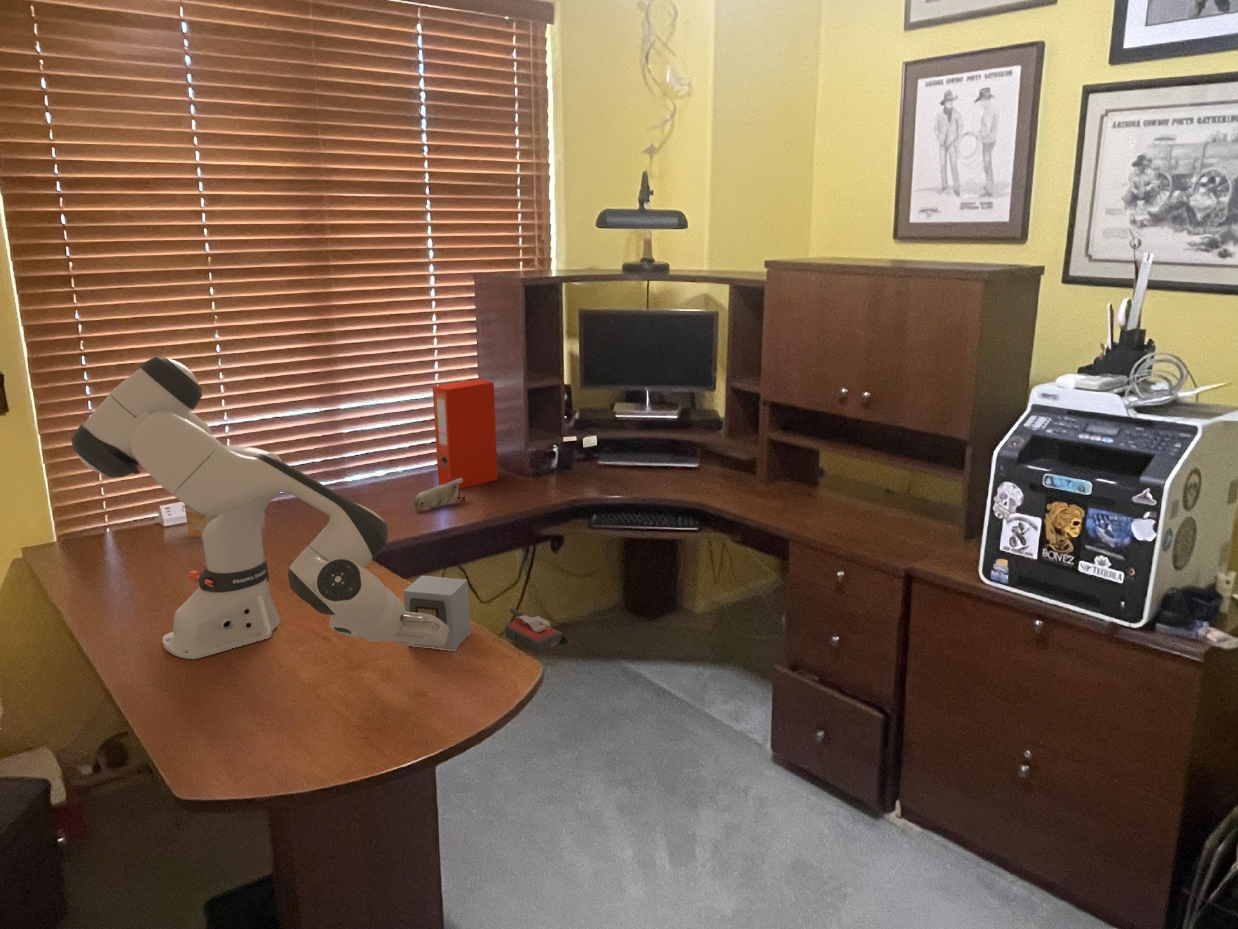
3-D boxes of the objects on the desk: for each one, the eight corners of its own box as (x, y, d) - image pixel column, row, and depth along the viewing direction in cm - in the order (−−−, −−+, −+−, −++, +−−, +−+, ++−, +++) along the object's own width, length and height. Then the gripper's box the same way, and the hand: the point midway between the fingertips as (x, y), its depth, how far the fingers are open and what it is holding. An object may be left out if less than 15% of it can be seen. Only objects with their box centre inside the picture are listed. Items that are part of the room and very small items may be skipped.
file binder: (498, 480, 293) (493, 382, 285) (452, 491, 282) (446, 389, 274) (484, 475, 299) (479, 379, 290) (438, 485, 288) (432, 386, 279)
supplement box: (187, 535, 245) (180, 489, 242) (202, 530, 249) (196, 484, 246) (208, 540, 242) (201, 493, 238) (223, 534, 246) (217, 488, 242)
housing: (453, 653, 178) (449, 597, 175) (406, 648, 180) (401, 592, 177) (470, 634, 186) (467, 579, 183) (425, 629, 188) (421, 575, 185)
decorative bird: (411, 511, 264) (409, 486, 262) (459, 499, 274) (457, 475, 272) (420, 515, 260) (418, 490, 258) (468, 503, 270) (467, 479, 268)
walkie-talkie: (576, 644, 182) (515, 614, 196) (576, 623, 181) (514, 595, 195) (542, 658, 176) (481, 626, 190) (542, 638, 175) (480, 607, 189)
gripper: (437, 602, 156) (463, 630, 168) (331, 592, 161) (363, 620, 173) (428, 637, 153) (455, 663, 165) (319, 626, 158) (353, 652, 170)
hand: (407, 641), depth 169 cm, fingers closed
